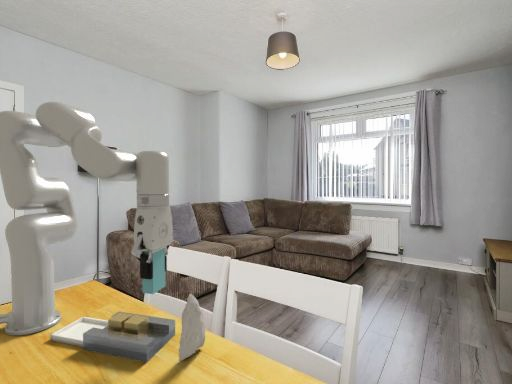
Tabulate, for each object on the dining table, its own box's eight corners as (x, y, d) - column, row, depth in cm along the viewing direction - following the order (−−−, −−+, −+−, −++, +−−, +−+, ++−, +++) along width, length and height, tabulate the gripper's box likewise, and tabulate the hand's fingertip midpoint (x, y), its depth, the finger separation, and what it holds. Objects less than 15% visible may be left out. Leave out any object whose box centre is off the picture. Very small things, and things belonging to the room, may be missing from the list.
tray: (50, 340, 71) (50, 334, 71) (83, 321, 81) (83, 316, 81) (84, 347, 68) (84, 341, 68) (115, 326, 78) (114, 321, 78)
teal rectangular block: (141, 293, 67) (140, 248, 66) (155, 285, 72) (154, 243, 71) (153, 294, 66) (152, 249, 65) (165, 286, 71) (165, 244, 70)
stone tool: (184, 367, 61) (184, 301, 61) (174, 363, 63) (174, 298, 62) (209, 347, 69) (209, 288, 68) (199, 344, 70) (199, 285, 70)
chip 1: (108, 335, 70) (108, 319, 70) (119, 327, 74) (119, 312, 74) (121, 337, 69) (121, 321, 69) (132, 329, 73) (132, 314, 73)
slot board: (83, 349, 67) (82, 333, 67) (119, 325, 79) (119, 311, 79) (147, 362, 63) (147, 345, 63) (175, 334, 74) (175, 319, 74)
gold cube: (124, 338, 69) (124, 322, 69) (135, 329, 73) (134, 314, 73) (137, 340, 68) (137, 324, 68) (148, 332, 72) (148, 316, 72)
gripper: (144, 204, 59) (145, 288, 59) (184, 200, 75) (184, 266, 76) (114, 204, 61) (115, 285, 61) (160, 199, 77) (160, 263, 78)
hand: (153, 273), depth 69 cm, fingers closed on teal rectangular block, 5 cm apart
